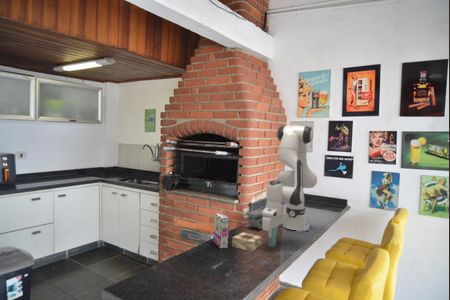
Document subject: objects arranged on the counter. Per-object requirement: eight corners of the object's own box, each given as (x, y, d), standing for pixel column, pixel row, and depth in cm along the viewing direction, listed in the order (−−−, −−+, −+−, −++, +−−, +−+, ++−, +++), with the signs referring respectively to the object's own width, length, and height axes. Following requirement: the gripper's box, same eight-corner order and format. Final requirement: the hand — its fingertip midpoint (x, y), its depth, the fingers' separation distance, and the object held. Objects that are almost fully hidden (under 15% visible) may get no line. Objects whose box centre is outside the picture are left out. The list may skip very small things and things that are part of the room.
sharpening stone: (266, 222, 213) (267, 207, 212) (276, 224, 207) (277, 209, 207) (245, 229, 194) (246, 212, 194) (255, 232, 189) (255, 215, 188)
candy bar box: (228, 248, 159) (229, 217, 158) (219, 249, 157) (220, 218, 156) (221, 241, 169) (222, 212, 168) (212, 242, 167) (214, 213, 167)
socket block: (242, 240, 171) (243, 232, 171) (261, 245, 165) (261, 236, 165) (231, 246, 161) (232, 237, 161) (251, 251, 155) (251, 242, 155)
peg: (270, 244, 167) (271, 219, 167) (276, 246, 165) (277, 221, 165) (267, 246, 164) (268, 221, 164) (273, 247, 162) (274, 222, 162)
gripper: (276, 206, 174) (274, 229, 175) (260, 212, 157) (259, 238, 158) (286, 208, 171) (285, 231, 171) (271, 214, 154) (270, 241, 154)
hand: (272, 235), depth 164 cm, fingers open, 5 cm apart
